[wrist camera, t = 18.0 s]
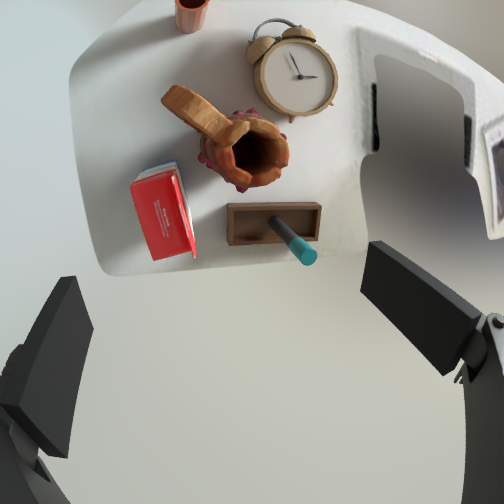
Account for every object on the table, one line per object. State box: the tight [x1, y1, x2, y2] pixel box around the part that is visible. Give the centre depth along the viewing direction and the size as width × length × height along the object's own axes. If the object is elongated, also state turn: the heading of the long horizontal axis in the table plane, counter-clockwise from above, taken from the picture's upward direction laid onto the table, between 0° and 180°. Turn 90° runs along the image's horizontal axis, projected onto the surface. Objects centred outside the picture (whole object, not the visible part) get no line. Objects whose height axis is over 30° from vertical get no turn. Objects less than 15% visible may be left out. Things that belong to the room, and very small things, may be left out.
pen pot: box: [175, 0, 210, 33], centre depth 25 cm, size 4×4×8 cm
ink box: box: [130, 160, 196, 261], centre depth 31 cm, size 8×5×15 cm, turn 11°
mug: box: [161, 85, 289, 193], centre depth 29 cm, size 15×8×15 cm, turn 50°
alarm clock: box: [246, 18, 338, 123], centre depth 32 cm, size 11×5×15 cm
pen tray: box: [227, 202, 322, 246], centre depth 42 cm, size 14×6×2 cm, turn 88°
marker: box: [268, 216, 317, 266], centre depth 37 cm, size 2×2×13 cm
